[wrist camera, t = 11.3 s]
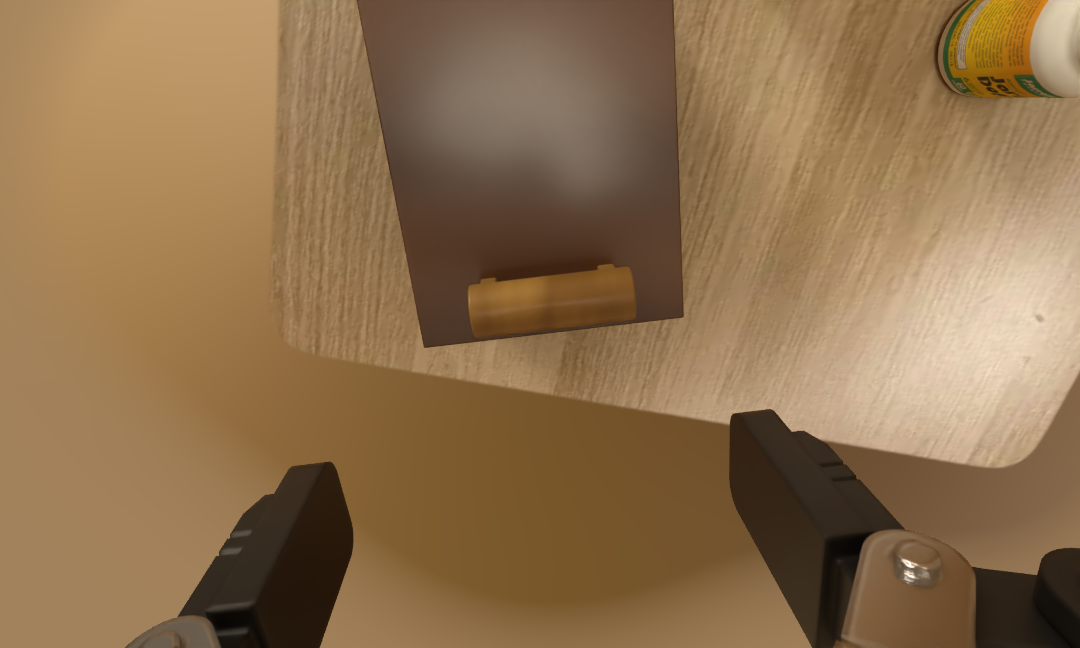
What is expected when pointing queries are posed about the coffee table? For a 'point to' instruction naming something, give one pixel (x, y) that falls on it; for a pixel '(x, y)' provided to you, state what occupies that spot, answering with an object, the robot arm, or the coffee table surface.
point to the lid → (531, 161)
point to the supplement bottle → (1013, 49)
